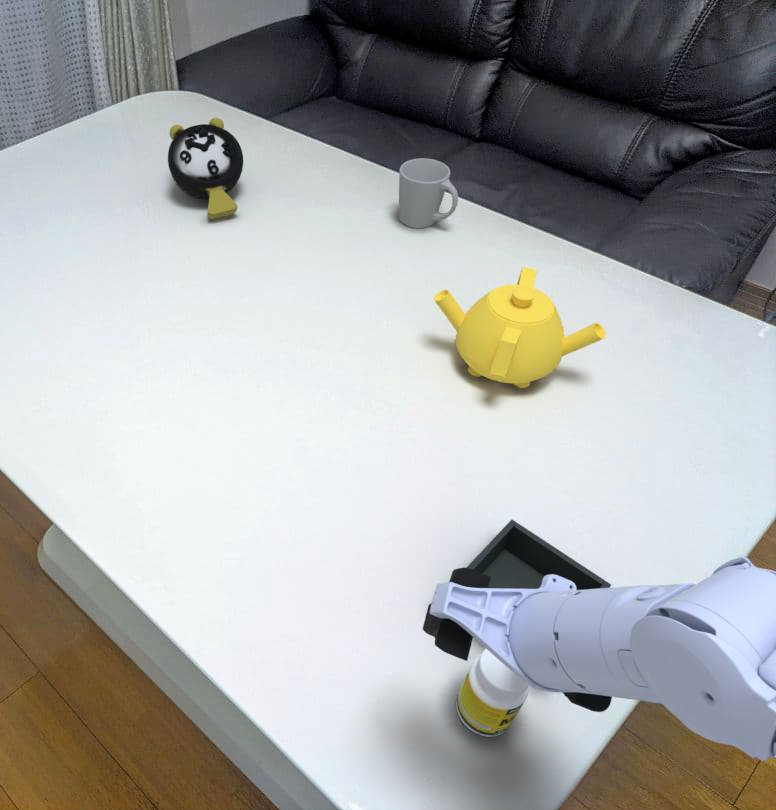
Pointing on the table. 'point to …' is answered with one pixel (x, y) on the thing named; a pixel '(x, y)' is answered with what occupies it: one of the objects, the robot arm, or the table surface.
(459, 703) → the supplement bottle
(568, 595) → the robot arm
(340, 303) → the table surface
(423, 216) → the cup
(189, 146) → the alarm clock
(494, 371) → the teapot
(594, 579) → the storage tray
